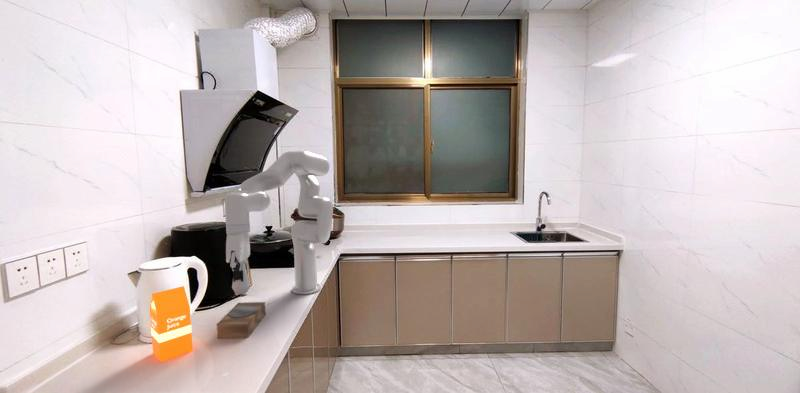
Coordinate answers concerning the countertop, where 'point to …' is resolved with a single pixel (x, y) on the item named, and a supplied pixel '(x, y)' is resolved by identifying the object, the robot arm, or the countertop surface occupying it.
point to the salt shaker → (241, 286)
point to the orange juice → (170, 324)
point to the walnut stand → (241, 320)
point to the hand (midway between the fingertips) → (240, 279)
